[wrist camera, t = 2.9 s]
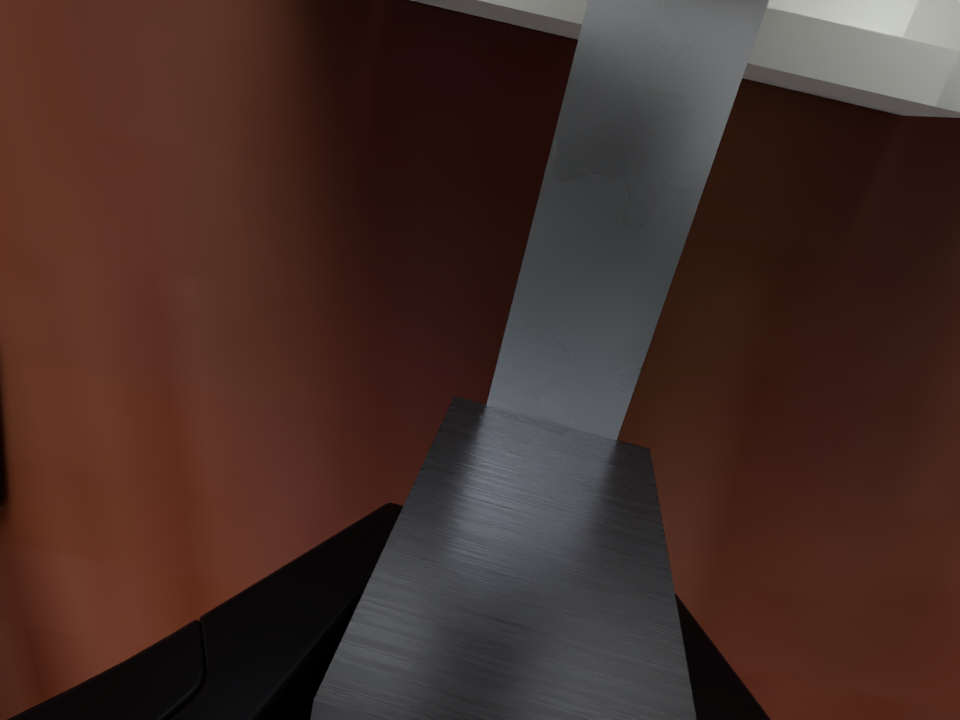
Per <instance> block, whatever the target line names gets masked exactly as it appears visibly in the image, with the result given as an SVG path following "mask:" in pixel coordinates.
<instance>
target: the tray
mask: <svg viewBox="0 0 960 720" xmlns="http://www.w3.org/2000/svg"><path fill="white" fill-rule="evenodd" d="M411 1H415V2H419V3H424V4H428V5H432V6H436V7H441V8H445V9H449V10H454V11H458V12H462V13H466V14H471V15H475V16H479V17H483V18H488V19H492V20H496V21H500V22H505V23H509V24H513V25H518V26H522V27H526V28H530V29H535V30H539V31H543V32H547V33H552V34H556V35H560V36H565V37H569V38H573V39H577V40H578V39H579V35H580V31H581V27H582V23H583V19H584V15H585V11H586V7H587V3H588V0H411ZM742 78H744V79H748V80H752V81H757V82H761V83H765V84H769V85H774V86H778V87H782V88H787V89H791V90H795V91H799V92H804V93H808V94H812V95H816V96H821V97H825V98H829V99H834V100H838V101H842V102H846V103H851V104H855V105H859V106H863V107H868V108H872V109H876V110H880V111H885V112H889V113H893V114H898V115H902V116H925V117H951V118H960V0H769V2H768V5H767V8H766V11H765V14H764V17H763V19H762V22H761V25H760V28H759V31H758V34H757V37H756V40H755V42H754V45H753V48H752V51H751V54H750V57H749V60H748V63H747V66H746V68H745V71H744V74H743V77H742Z"/></svg>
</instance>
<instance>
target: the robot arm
mask: <svg viewBox="0 0 960 720" xmlns="http://www.w3.org/2000/svg"><path fill="white" fill-rule="evenodd" d="M2 503H3V493H2V480H1V467H0V507H1V506H2ZM402 508H403V506H402V505H398V504H395V503H387V504H385V505H383V506H382V507H380V508H378V509H377V510H375V511H373V512H372V513H370V514H368V515H367V516H365V517H363V518H362V519H360V520H359V521H357V522H355V523H354V524H352V525H350V526H349V527H347V528H345V529H344V530H342V531H340V532H339V533H337V534H336V535H334V536H332V537H331V538H329V539H327V540H326V541H324V542H322V543H321V544H319V545H317V546H316V547H314V548H313V549H311V550H309V551H308V552H306V553H304V554H303V555H301V556H299V557H298V558H296V559H294V560H293V561H291V562H290V563H288V564H286V565H285V566H283V567H281V568H280V569H278V570H276V571H275V572H273V573H271V574H270V575H268V576H267V577H265V578H263V579H262V580H260V581H258V582H257V583H255V584H253V585H252V586H250V587H248V588H247V589H245V590H243V591H242V592H240V593H239V594H237V595H235V596H234V597H232V598H230V599H229V600H227V601H225V602H224V603H222V604H220V605H219V606H217V607H216V608H214V609H212V610H211V611H209V612H207V613H206V614H204V615H202V616H201V617H200V621H199V620H194V621H192V622H190V623H189V624H187V625H185V626H184V627H182V628H181V629H179V630H177V631H176V632H174V633H172V634H171V635H169V636H167V637H166V638H164V639H162V640H160V641H159V642H157V643H155V644H153V645H152V646H150V647H148V648H146V649H145V650H143V651H141V652H139V653H138V654H136V655H134V656H132V657H131V658H129V659H127V660H125V661H123V662H122V663H120V664H118V665H116V666H114V667H112V668H110V669H108V670H106V671H104V672H102V673H100V674H98V675H96V676H94V677H92V678H90V679H88V680H86V681H85V682H83V683H81V684H79V685H77V686H75V687H73V688H71V689H69V690H67V691H65V692H63V693H61V694H58V695H56V696H54V697H52V698H50V699H48V700H46V701H44V702H42V703H40V704H38V705H36V706H34V707H32V708H30V709H28V710H26V711H24V712H22V713H20V714H17V715H15V716H13V717H11V718H9V719H7V720H310V719H311V713H312V707H313V701H314V698H315V696H316V694H317V692H318V690H319V687H320V685H321V683H322V681H323V679H324V677H325V674H326V672H327V670H328V668H329V666H330V664H331V661H332V659H333V657H334V655H335V653H336V651H337V649H338V646H339V644H340V642H341V640H342V638H343V636H344V633H345V631H346V629H347V627H348V625H349V623H350V620H351V618H352V616H353V614H354V612H355V610H356V608H357V605H358V603H359V601H360V599H361V597H362V595H363V592H364V590H365V588H366V586H367V584H368V582H369V579H370V577H371V575H372V573H373V571H374V569H375V567H376V564H377V562H378V560H379V558H380V556H381V554H382V551H383V549H384V547H385V545H386V543H387V541H388V538H389V536H390V534H391V532H392V530H393V528H394V526H395V523H396V521H397V519H398V517H399V515H400V513H401V510H402ZM675 598H676V603H677V609H678V615H679V621H680V627H681V632H682V638H683V644H684V650H685V656H686V661H687V667H688V673H689V679H690V684H691V690H692V696H693V702H694V708H695V713H696V719H697V720H771V719H770V718H769V717H768V715H767V714H766V713H765V711H764V710H763V709H762V707H761V706H760V705H759V703H758V702H757V701H756V699H755V698H754V697H753V695H752V694H751V693H750V691H749V690H748V689H747V687H746V686H745V685H744V684H743V682H742V681H741V680H740V678H739V677H738V676H737V674H736V673H735V672H734V670H733V669H732V668H731V666H730V665H729V664H728V662H727V661H726V660H725V658H724V657H723V656H722V654H721V653H720V652H719V650H718V649H717V648H716V646H715V645H714V644H713V642H712V641H711V640H710V638H709V637H708V636H707V634H706V633H705V632H704V630H703V629H702V628H701V626H700V625H699V624H698V622H697V621H696V620H695V618H694V617H693V616H692V615H691V613H690V612H689V611H688V609H687V608H686V607H685V605H684V604H683V603H682V601H681V600H680V599H679V597H678V596H677V595H676V593H675Z"/></svg>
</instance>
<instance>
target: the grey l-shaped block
mask: <svg viewBox="0 0 960 720" xmlns="http://www.w3.org/2000/svg"><path fill="white" fill-rule="evenodd" d="M768 2H769V0H588V3H587V7H586V11H585V15H584V19H583V23H582V27H581V31H580V35H579V39H578V43H577V47H576V51H575V55H574V59H573V63H572V67H571V71H570V75H569V79H568V83H567V87H566V91H565V95H564V99H563V103H562V107H561V111H560V115H559V119H558V123H557V127H556V131H555V135H554V139H553V143H552V147H551V151H550V154H549V158H548V162H547V166H546V170H545V174H544V178H543V182H542V186H541V190H540V194H539V198H538V202H537V206H536V210H535V214H534V218H533V222H532V226H531V230H530V234H529V238H528V242H527V246H526V250H525V254H524V258H523V262H522V266H521V270H520V274H519V278H518V282H517V286H516V290H515V294H514V298H513V302H512V306H511V310H510V313H509V317H508V321H507V325H506V329H505V333H504V337H503V341H502V345H501V349H500V353H499V357H498V361H497V365H496V369H495V373H494V377H493V381H492V385H491V389H490V393H489V397H488V401H487V405H486V404H483V403H479V402H475V401H472V400H468V399H464V398H460V397H457V396H454V398H453V400H452V402H451V405H450V407H449V409H448V411H447V413H446V415H445V418H444V420H443V422H442V424H441V426H440V428H439V431H438V433H437V435H436V437H435V439H434V441H433V444H432V446H431V448H430V450H429V452H428V454H427V456H426V459H425V461H424V463H423V465H422V467H421V469H420V472H419V474H418V476H417V478H416V480H415V482H414V485H413V487H412V489H411V491H410V493H409V495H408V497H407V500H406V502H405V504H404V506H403V508H402V510H401V513H400V515H399V517H398V519H397V521H396V523H395V526H394V528H393V530H392V532H391V534H390V536H389V538H388V541H387V543H386V545H385V547H384V549H383V551H382V554H381V556H380V558H379V560H378V562H377V564H376V567H375V569H374V571H373V573H372V575H371V577H370V579H369V582H368V584H367V586H366V588H365V590H364V592H363V595H362V597H361V599H360V601H359V603H358V605H357V608H356V610H355V612H354V614H353V616H352V618H351V620H350V623H349V625H348V627H347V629H346V631H345V633H344V636H343V638H342V640H341V642H340V644H339V646H338V649H337V651H336V653H335V655H334V657H333V659H332V661H331V664H330V666H329V668H328V670H327V672H326V674H325V677H324V679H323V681H322V683H321V685H320V687H319V690H318V692H317V694H316V696H315V698H314V701H313V707H312V713H311V719H310V720H697V719H696V713H695V708H694V702H693V696H692V690H691V684H690V679H689V673H688V667H687V661H686V656H685V650H684V644H683V638H682V632H681V627H680V621H679V615H678V609H677V603H676V598H675V592H674V586H673V580H672V575H671V569H670V563H669V557H668V551H667V546H666V540H665V534H664V528H663V523H662V517H661V511H660V505H659V499H658V494H657V488H656V482H655V476H654V471H653V465H652V459H651V453H650V449H649V448H645V447H641V446H638V445H634V444H630V443H626V442H623V441H619V440H617V438H618V435H619V432H620V429H621V426H622V423H623V420H624V417H625V414H626V412H627V409H628V406H629V403H630V400H631V397H632V394H633V391H634V389H635V386H636V383H637V380H638V377H639V374H640V371H641V368H642V365H643V363H644V360H645V357H646V354H647V351H648V348H649V345H650V342H651V339H652V337H653V334H654V331H655V328H656V325H657V322H658V319H659V316H660V314H661V311H662V308H663V305H664V302H665V299H666V296H667V293H668V290H669V288H670V285H671V282H672V279H673V276H674V273H675V270H676V267H677V265H678V262H679V259H680V256H681V253H682V250H683V247H684V244H685V241H686V239H687V236H688V233H689V230H690V227H691V224H692V221H693V218H694V215H695V213H696V210H697V207H698V204H699V201H700V198H701V195H702V192H703V190H704V187H705V184H706V181H707V178H708V175H709V172H710V169H711V166H712V164H713V161H714V158H715V155H716V152H717V149H718V146H719V143H720V141H721V138H722V135H723V132H724V129H725V126H726V123H727V120H728V117H729V115H730V112H731V109H732V106H733V103H734V100H735V97H736V94H737V91H738V89H739V86H740V83H741V80H742V77H743V74H744V71H745V68H746V66H747V63H748V60H749V57H750V54H751V51H752V48H753V45H754V42H755V40H756V37H757V34H758V31H759V28H760V25H761V22H762V19H763V17H764V14H765V11H766V8H767V5H768Z"/></svg>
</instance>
